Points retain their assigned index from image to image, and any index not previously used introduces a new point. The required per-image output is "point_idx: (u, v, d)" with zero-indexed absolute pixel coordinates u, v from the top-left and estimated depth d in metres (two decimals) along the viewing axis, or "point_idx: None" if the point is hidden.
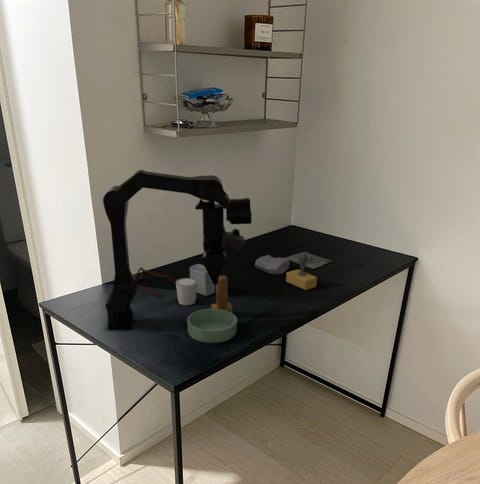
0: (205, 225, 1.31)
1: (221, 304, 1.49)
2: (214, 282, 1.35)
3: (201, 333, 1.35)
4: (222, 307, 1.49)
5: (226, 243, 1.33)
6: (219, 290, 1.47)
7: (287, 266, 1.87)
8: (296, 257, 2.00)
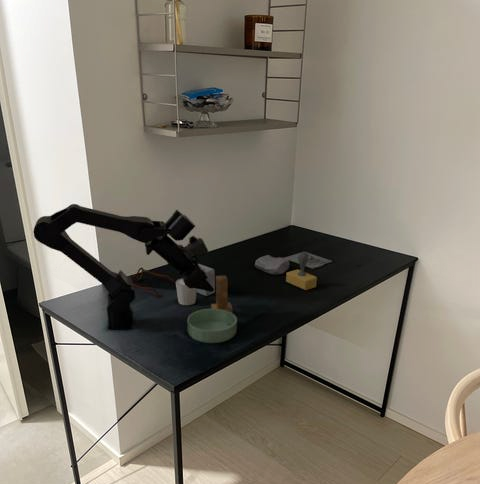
0: (165, 258, 1.37)
1: (221, 304, 1.49)
2: (210, 290, 1.42)
3: (201, 333, 1.35)
4: (222, 307, 1.49)
5: (192, 256, 1.38)
6: (219, 290, 1.47)
7: (287, 266, 1.87)
8: (296, 257, 2.00)
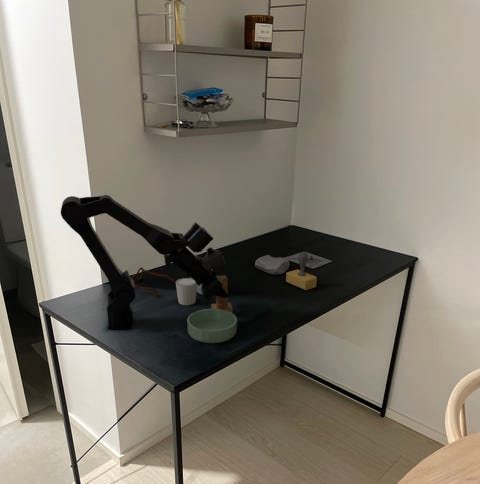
0: (184, 270, 1.40)
1: (221, 304, 1.49)
2: (225, 296, 1.47)
3: (201, 333, 1.35)
4: (222, 307, 1.49)
5: (210, 268, 1.41)
6: None
7: (287, 266, 1.87)
8: (296, 257, 2.00)
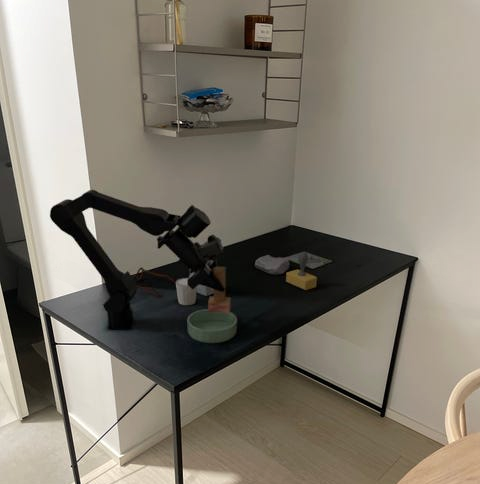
0: (176, 254, 1.31)
1: (217, 297, 1.36)
2: (221, 290, 1.34)
3: (201, 333, 1.35)
4: (218, 301, 1.36)
5: (203, 256, 1.29)
6: None
7: (287, 266, 1.87)
8: (296, 257, 2.00)
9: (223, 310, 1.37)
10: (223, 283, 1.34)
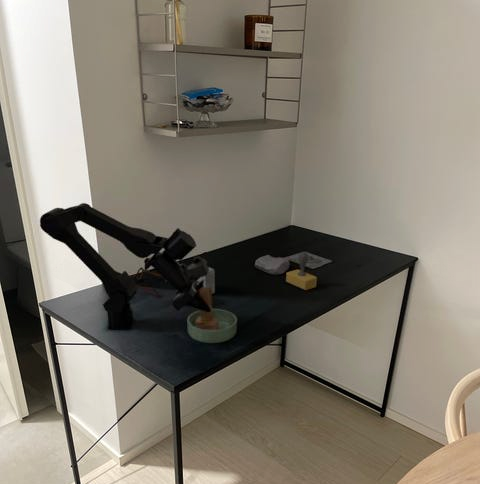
0: (163, 276, 1.34)
1: (204, 317, 1.39)
2: (207, 310, 1.37)
3: (201, 333, 1.35)
4: (205, 321, 1.39)
5: (188, 277, 1.32)
6: None
7: (287, 266, 1.87)
8: (296, 257, 2.00)
9: None
10: (209, 303, 1.37)
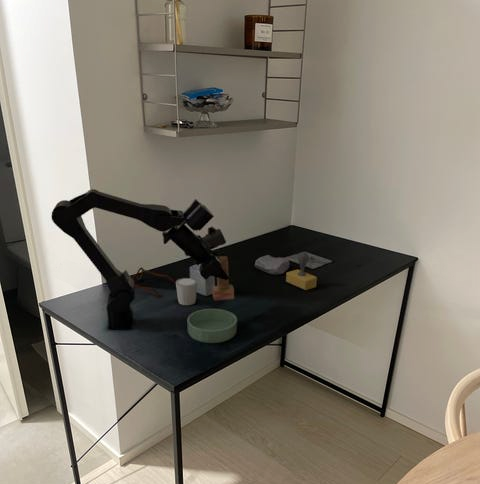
0: (182, 248, 1.36)
1: (222, 286, 1.43)
2: (225, 278, 1.42)
3: (201, 333, 1.35)
4: (223, 289, 1.44)
5: (209, 247, 1.36)
6: None
7: (287, 266, 1.87)
8: (296, 257, 2.00)
9: (228, 297, 1.45)
10: (227, 271, 1.42)
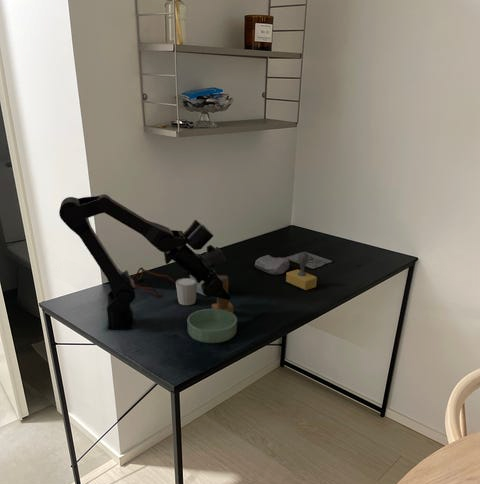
0: (184, 267, 1.40)
1: (221, 304, 1.49)
2: (227, 298, 1.44)
3: (201, 333, 1.35)
4: (223, 307, 1.49)
5: (210, 265, 1.41)
6: None
7: (287, 266, 1.87)
8: (296, 257, 2.00)
9: None
10: (227, 290, 1.47)
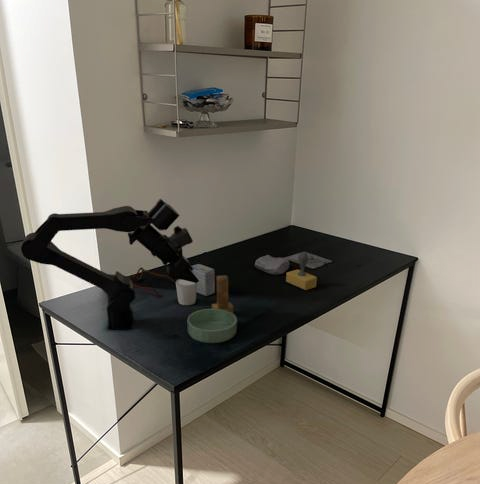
0: (149, 248, 1.35)
1: (221, 304, 1.49)
2: (195, 281, 1.39)
3: (201, 333, 1.35)
4: (223, 307, 1.49)
5: (176, 246, 1.36)
6: (220, 290, 1.47)
7: (287, 266, 1.87)
8: (296, 257, 2.00)
9: None
10: (227, 290, 1.47)
